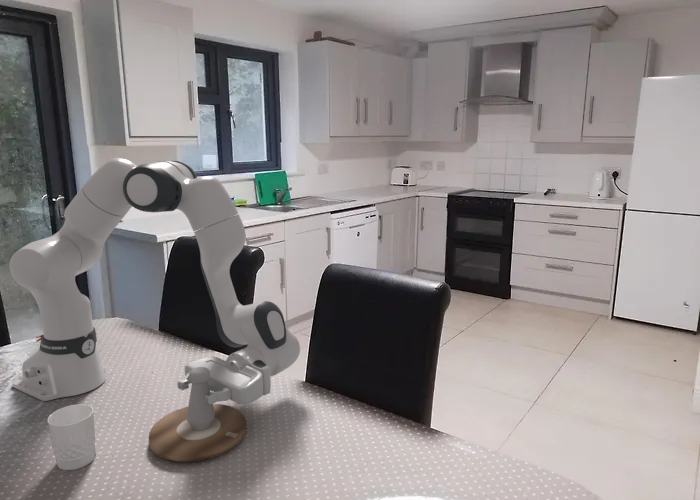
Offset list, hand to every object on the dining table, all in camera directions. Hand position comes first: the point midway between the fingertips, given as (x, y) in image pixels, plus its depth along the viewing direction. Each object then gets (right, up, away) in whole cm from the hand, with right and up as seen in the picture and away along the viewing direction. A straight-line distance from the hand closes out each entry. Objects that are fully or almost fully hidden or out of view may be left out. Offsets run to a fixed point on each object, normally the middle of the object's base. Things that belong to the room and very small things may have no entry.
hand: (192, 393), depth 105 cm
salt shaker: (+1, -8, +3) cm, 9 cm away
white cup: (-21, -12, -5) cm, 25 cm away
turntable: (0, -10, +3) cm, 11 cm away
